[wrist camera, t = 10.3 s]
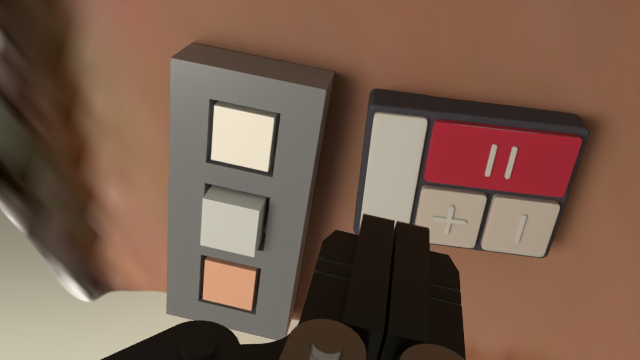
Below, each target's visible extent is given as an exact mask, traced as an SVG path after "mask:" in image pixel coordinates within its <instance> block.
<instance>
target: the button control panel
mask: <svg viewBox="0 0 640 360" xmlns="http://www.w3.org/2000/svg"><path fill="white" fill-rule="evenodd" d="M588 135H589V131H588V129H587V128H586V126H585V125H584V124H583V122H582V121H581V120H580V118H579V117H578V116H577V115H576V114H571V113H563V112H556V111H548V110H540V109H532V108H524V107H516V106H507V105H499V104H489V103H480V102H471V101H462V100H453V99H444V98H435V97H431V96H428V95H422V94H414V93H406V92H398V91H390V90H382V89H373V90H372V91H371V92H370V96H369V104H368V112H367V120H366V128H365V136H364V144H363V152H362V161H361V169H360V177H359V185H358V193H357V201H356V210H355V218H354V228H353V230H354V232H355V233H356V234H359V230H360V225H361V221H362V217H363V214H368V215H372V216H377V217H381V218H386V219H390V220H395V225H396V222H397V221H400V222H405V223H409V224H414V225H418V226H423V227H427V228H429V230H430V244H434V245H442V246H450V247H458V248H465V249H473V250H481V251H489V252H497V253H505V254H512V255H520V256H528V257H536V258H544V257H546V256H547V255H548V253H549V250H550V247H551V244H552V241H553V238H554V235H555V233H556V230H557V227H558V224H559V221H560V218H561V215H562V212H563V209H564V206H565V203H566V200H567V197H568V194H569V191H570V188H571V185H572V183H573V180H574V177H575V174H576V171H577V168H578V165H579V162H580V159H581V156H582V153H583V150H584V147H585V144H586V141H587V138H588ZM395 225H394V228H395Z"/></svg>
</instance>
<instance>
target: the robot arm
mask: <svg viewBox="0 0 640 360" xmlns="http://www.w3.org/2000/svg"><path fill="white" fill-rule="evenodd" d="M394 225H395V220H390V219H386V218H381V217H377V216H372V215H368V214H363V217H362V221H361V225H360V230H359V234H358V235H356V234H352V233H347V232H343V231H338V230H335V231H334V232H333V233H332V234H331V235H329V236H328V237H327V238H326V239H325V240H324V241H323V242H322V246H321V249H320V253H319V256H318V260H317V263H316V267H315V270H314V274H313V277H312V280H311V284H310V287H309V291H308V294H307V298H306V301H305V305H304V308H303V312H302V315H301V318H300V321H299V324H298V325H297V326H296V327H295V328H294V329H293V330H292V331H291V333H290V334H289V335H287V336H286V337H284V338H282V339H280V340H277V341H274V342H270V343H264V344H243V345H241V344H240V343H239V341H238V339H237V337H236V336H235V335H234V333H233V332H231V331H230V330H229V329H228V328H226V327H225V326H223V325H221V324H218V323H215V322H212V321H205V320H195V321H188V322H184V323H181V324H178V325H176V326H174V327H171V328H169V329H167V330H165V331H163V332H161V333H158V334H156V335H154V336H152V337H150V338H147V339H145V340H143V341H141V342H138V343H136V344H134V345H132V346H130V347H128V348H126V349H123V350H121V351H119V352H117V353H114V354H112V355H110V356H108V357H106V358H103V359H101V360H466V357H465V344H464V331H463V318H462V306H461V292H460V278H459V271H458V269H457V268H456V266H455V265H454V263H453V262H452V260H451V258H450V257H449V255H446V254H441V253H437V252H433V251H430V230H429V228H427V227H423V226H418V225H414V224H409V223H405V222H400V221H397V222H396V225H395V228H394Z"/></svg>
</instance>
